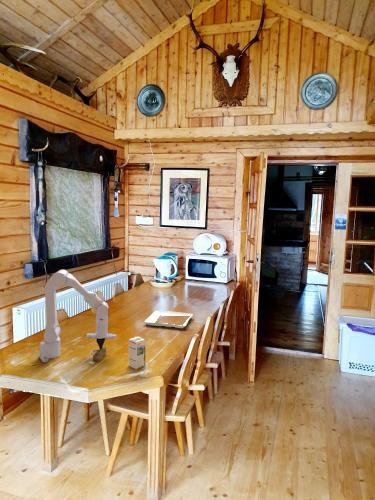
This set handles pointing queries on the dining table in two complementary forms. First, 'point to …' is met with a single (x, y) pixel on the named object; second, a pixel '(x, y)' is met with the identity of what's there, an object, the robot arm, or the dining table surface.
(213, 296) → the dining table surface
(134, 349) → the syrup box
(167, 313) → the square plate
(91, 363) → the pale green tile
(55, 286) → the robot arm
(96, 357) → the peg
